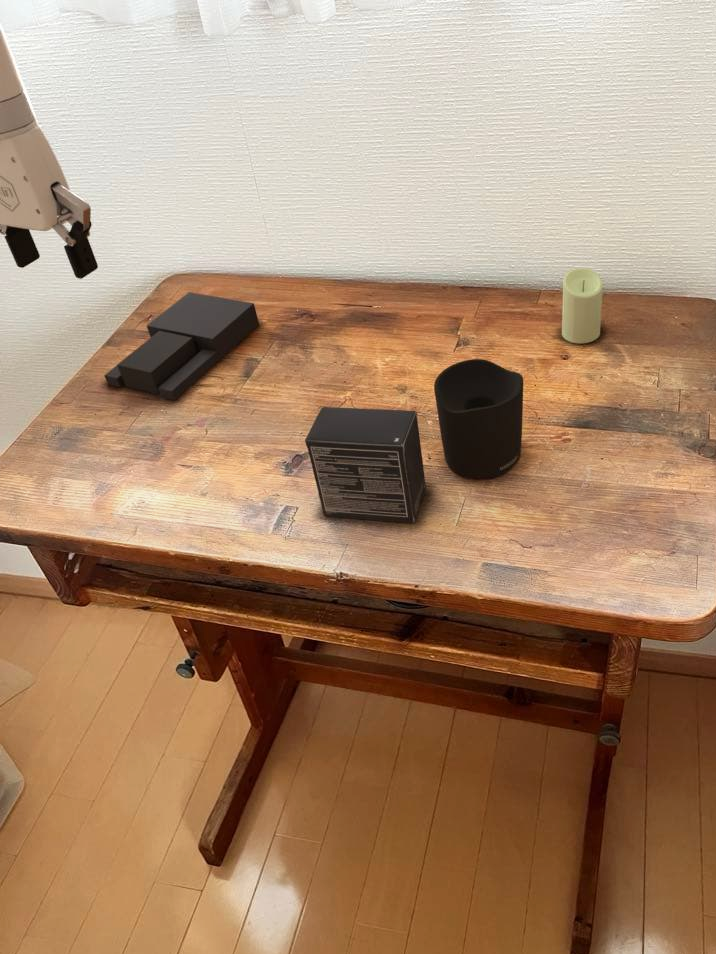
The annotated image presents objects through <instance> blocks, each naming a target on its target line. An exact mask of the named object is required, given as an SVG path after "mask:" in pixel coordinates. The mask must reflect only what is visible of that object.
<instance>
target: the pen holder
mask: <svg viewBox="0 0 716 954" xmlns="http://www.w3.org/2000/svg"><path fill="white" fill-rule="evenodd" d="M433 389H434V396H435V404H436V410H437V411H436V412H437V416H438V417H437V418H438V424H439V430H440V439H441V443H442V450H443V456H444V461H445V463H446V465H447V466H448V468H449V469H450V470H452V471H453V472H454V473H455V474H457V475H459V476H462V477H463V478H467V479H471V480H488V479H494V478H498V477H501V476H503V475H505V474H507V473H508V472H510V471H511V470H512V469H513V468H514V467H515V466H516V465H517V464H518V463H519V461H520V458H521V454H522V453H521V452H522V439H523V413H524V411H523V409H524V407H523V406H524V377H523V375H522V374H521V373H519V372H516V371H512V370H509V369H506V368H504V367H502V366H501V365H499V364H497V363H495V362H493V361H490V360H488V359H482V358H472V359H466V360H462V361H459V362H456V363H453V364H451V365H449V366H448V367H446V368H445V369H443V370H442V371H441V372H440V373H439V374H438V375H437V377H436V378H435V381H434V383H433Z"/></svg>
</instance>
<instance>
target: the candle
mask: <svg viewBox="0 0 716 954" xmlns="http://www.w3.org/2000/svg"><path fill="white" fill-rule="evenodd" d="M603 290H604V281H603V279H602V277H601V276H600V275H599V273H597V272H596V271H594V270H593V269H590V268H587V267H577V268H573V269H570V271H568V272H567V273H565V275H564V276H563V280H562V311H561V313H562V314H561V336H562V338H563V339H564V340H566V341H567V342H570V343H573V344H577V345H578V344H579V345H581V344H583V345H584V344H589V343H591V342H594V341H595V340H597V339H598V338H599V337H600V336H601V324H602V323H601V322H602V307H603V294H604V292H603Z"/></svg>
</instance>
